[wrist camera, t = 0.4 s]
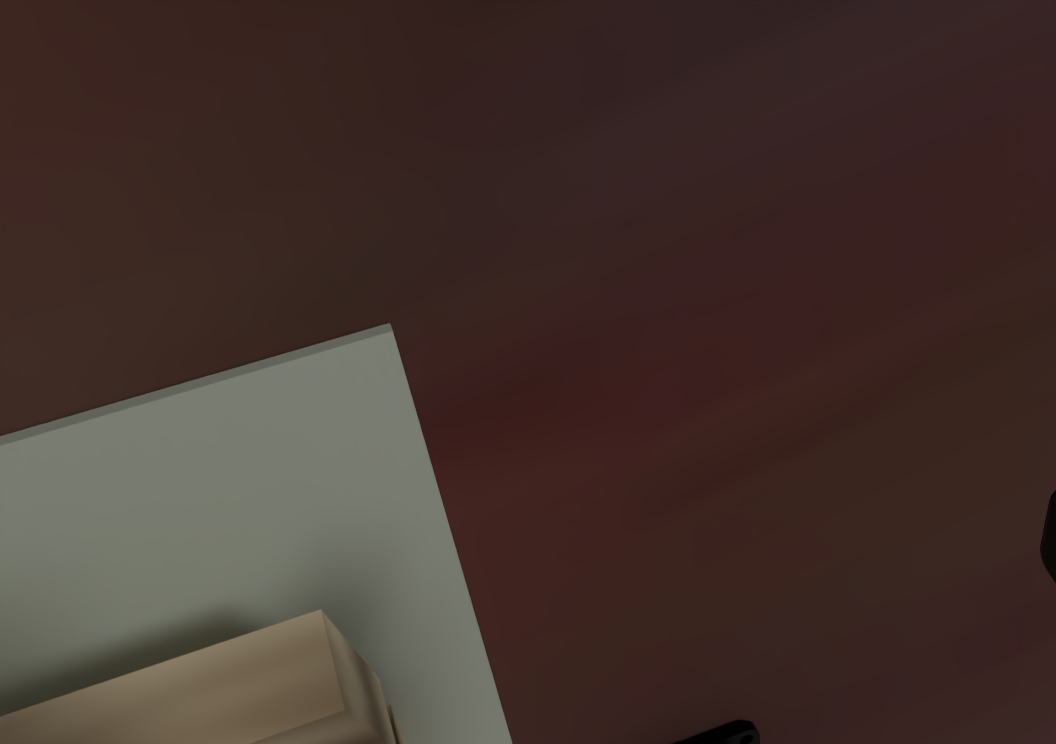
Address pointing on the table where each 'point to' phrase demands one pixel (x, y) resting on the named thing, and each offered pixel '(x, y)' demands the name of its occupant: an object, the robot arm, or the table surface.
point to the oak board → (395, 726)
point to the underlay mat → (242, 535)
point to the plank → (226, 696)
